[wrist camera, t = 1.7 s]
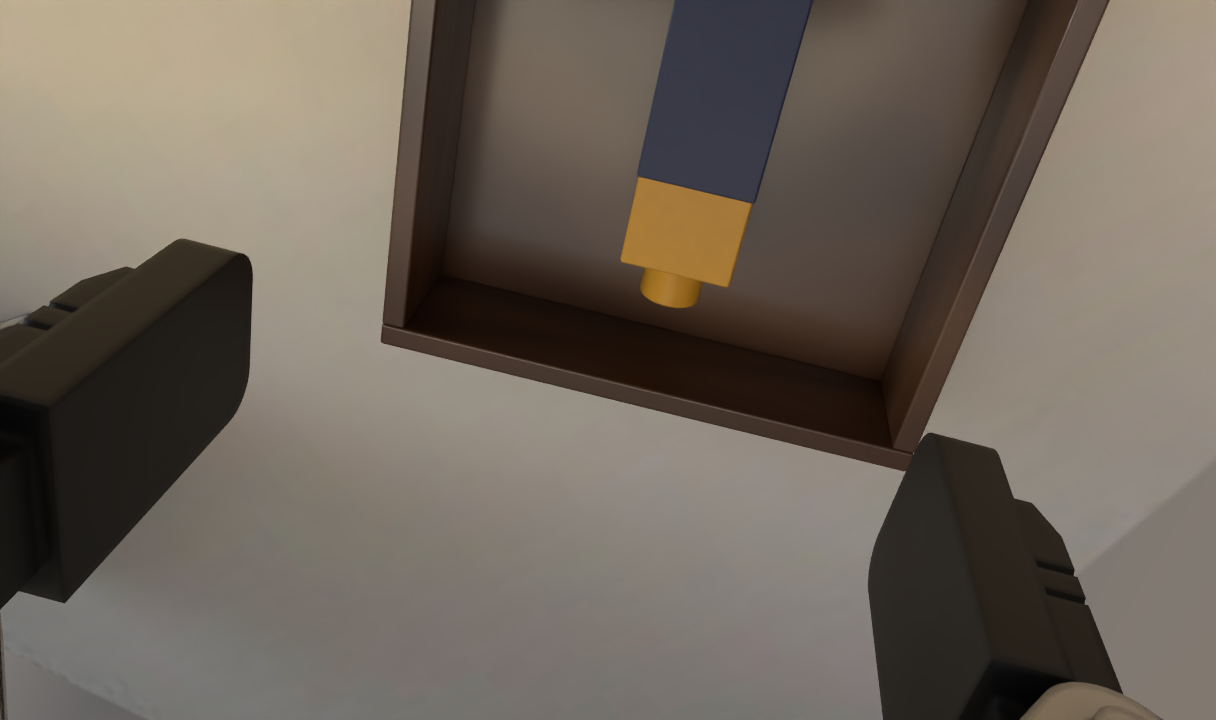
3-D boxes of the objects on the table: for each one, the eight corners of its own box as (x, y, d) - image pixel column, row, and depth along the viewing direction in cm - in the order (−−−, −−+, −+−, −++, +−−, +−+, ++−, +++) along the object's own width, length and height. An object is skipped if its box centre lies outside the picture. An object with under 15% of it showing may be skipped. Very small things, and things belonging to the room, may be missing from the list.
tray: (493, -323, 22) (441, -344, 19) (1123, -182, 22) (1187, -177, 19) (425, 280, 30) (379, 343, 27) (891, 394, 30) (906, 473, 26)
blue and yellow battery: (710, -138, 23) (702, -129, 21) (834, -109, 23) (841, -98, 21) (623, 260, 28) (608, 305, 26) (723, 284, 28) (718, 332, 26)
